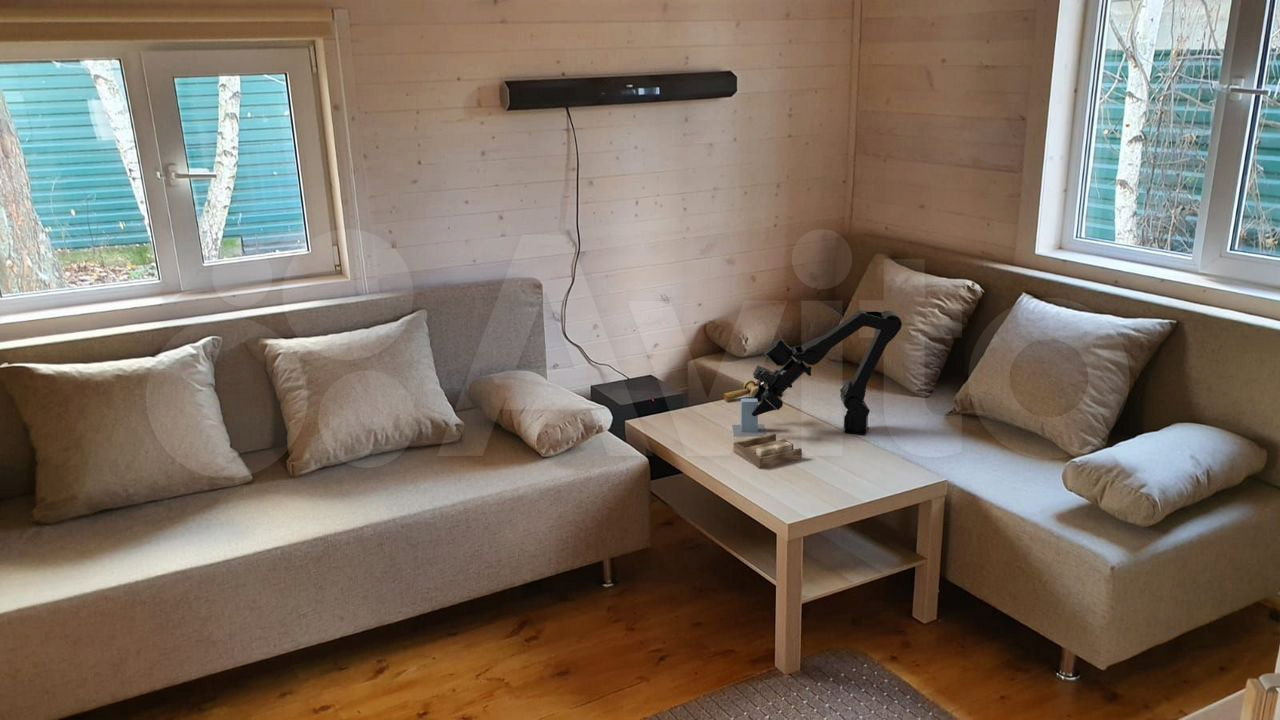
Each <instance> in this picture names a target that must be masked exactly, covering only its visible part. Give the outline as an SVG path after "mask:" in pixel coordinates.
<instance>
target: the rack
mask: <svg viewBox="0 0 1280 720" xmlns="http://www.w3.org/2000/svg"><path fill="white" fill-rule="evenodd" d="M784 442H789V443H790V444H792V450H790V451H786V452H781V453H777V454H773V455H769V456H764V457H759V456H757V455H756V449H758V448H762V447H766V446H773V445H776V444H780V443H784ZM802 452H803V448H795V449H794V443H792V442H791V441H788V440H786V439H785V438H782V439H778V440H777V434H776V433H772V434H766V436H756V437H753V438H748V439H744V440H739V441H735V442H733V453H734V454H735V455H737V456H739V457H740V458H742V459H743V460H744V461H746V462H748V463H750V464H751V465H753V466H754V467H755V468H758V469H759V470H761V469H764V468H768V467H769V468H770V467H773V466H777V465H781V464H786V463H789V462H790V463H791V462H794V461H795V462H796V461H798V460H802V459H803V458H802V457H803V456H802V455H803V454H802Z"/></svg>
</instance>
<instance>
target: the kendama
mask: <svg viewBox="0 0 1280 720" xmlns="http://www.w3.org/2000/svg"><path fill="white" fill-rule="evenodd" d="M758 381H759V380H757V381H756V382H755V381H754V380H752V379H749V380H746V381H745V382H744V383H743V389H739V390H733V391H729V392H725V393H723V399H724V401H725V402H726V403H728V402H730V401H732V400H735V399H738V398H741V397H743V396H745V395H747V394H749V395H750V398H751V399H752V398H753V396H754V395H755V393H756V391H757V390H758Z"/></svg>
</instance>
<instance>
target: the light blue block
mask: <svg viewBox="0 0 1280 720" xmlns="http://www.w3.org/2000/svg"><path fill="white" fill-rule="evenodd" d="M758 405H759V403H758V400H757V398H755V399H752V398H740V425H741V432H758V424H759V422H758V420H759V417H758V416H759V415H757V416H753V415H752V412H753V411H754V410H755V408H756V407H757V406H758Z"/></svg>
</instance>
